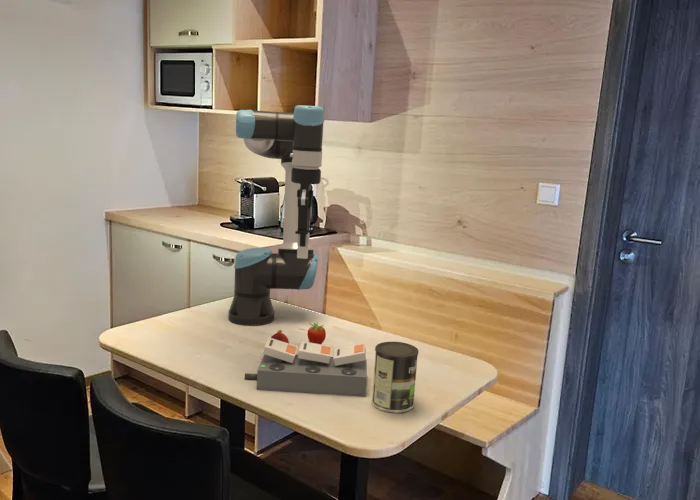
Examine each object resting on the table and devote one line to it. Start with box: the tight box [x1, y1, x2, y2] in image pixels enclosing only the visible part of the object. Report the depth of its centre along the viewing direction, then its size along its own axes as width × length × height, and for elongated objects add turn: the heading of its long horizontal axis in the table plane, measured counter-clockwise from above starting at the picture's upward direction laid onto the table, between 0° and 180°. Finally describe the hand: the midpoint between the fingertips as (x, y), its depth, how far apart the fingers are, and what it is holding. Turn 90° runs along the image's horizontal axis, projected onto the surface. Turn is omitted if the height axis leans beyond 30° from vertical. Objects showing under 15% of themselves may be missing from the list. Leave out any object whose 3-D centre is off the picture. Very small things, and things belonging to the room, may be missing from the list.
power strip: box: [244, 354, 368, 397], centre depth 162 cm, size 12×31×6 cm, turn 89°
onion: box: [270, 329, 290, 344], centre depth 177 cm, size 6×6×8 cm
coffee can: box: [371, 341, 419, 414], centre depth 152 cm, size 10×10×14 cm
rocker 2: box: [297, 340, 332, 363], centre depth 163 cm, size 7×8×2 cm
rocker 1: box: [262, 336, 299, 363], centre depth 163 cm, size 7×8×2 cm
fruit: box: [307, 322, 327, 345], centre depth 186 cm, size 5×5×8 cm
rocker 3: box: [333, 342, 367, 366], centre depth 163 cm, size 7×8×2 cm
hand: (302, 257), depth 166 cm, fingers closed
